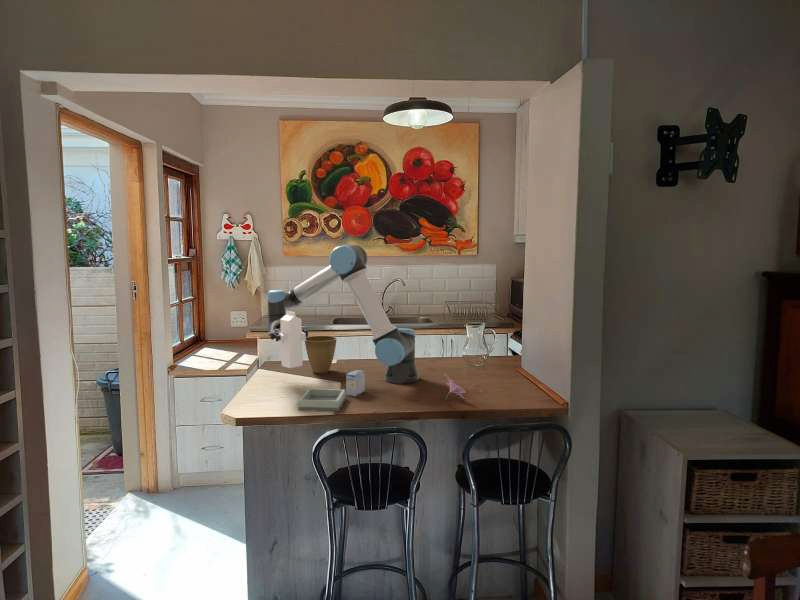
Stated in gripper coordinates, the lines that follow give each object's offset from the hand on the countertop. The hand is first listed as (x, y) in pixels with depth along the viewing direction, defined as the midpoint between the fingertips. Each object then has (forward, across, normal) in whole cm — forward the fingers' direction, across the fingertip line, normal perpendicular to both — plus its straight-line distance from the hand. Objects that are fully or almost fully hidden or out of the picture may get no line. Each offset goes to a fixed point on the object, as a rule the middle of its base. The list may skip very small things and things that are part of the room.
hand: (294, 338), depth 197 cm
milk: (-5, 0, -12) cm, 13 cm away
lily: (+27, -56, -24) cm, 67 cm away
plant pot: (-35, -20, -24) cm, 47 cm away
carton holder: (+12, -8, -24) cm, 28 cm away
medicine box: (+4, -24, -24) cm, 34 cm away
